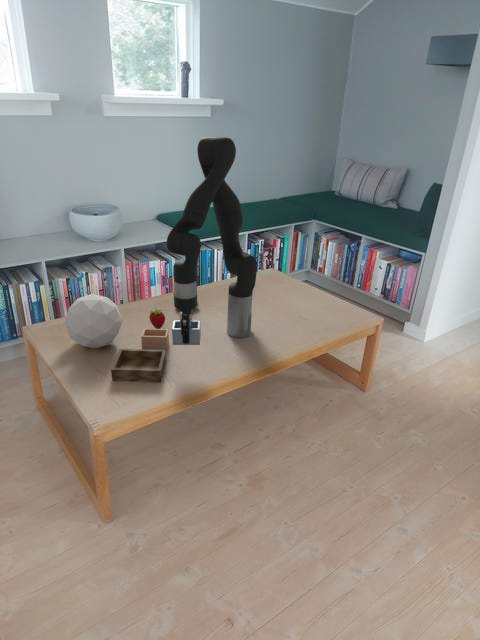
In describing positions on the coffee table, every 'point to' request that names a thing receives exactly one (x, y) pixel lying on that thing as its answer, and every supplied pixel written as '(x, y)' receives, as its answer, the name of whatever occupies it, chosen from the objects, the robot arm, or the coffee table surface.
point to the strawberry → (157, 318)
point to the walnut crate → (139, 365)
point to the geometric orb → (93, 321)
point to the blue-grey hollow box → (193, 335)
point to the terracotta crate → (155, 339)
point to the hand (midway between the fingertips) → (186, 337)
